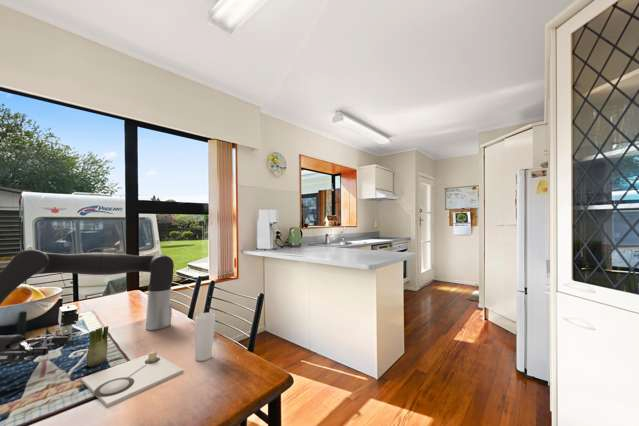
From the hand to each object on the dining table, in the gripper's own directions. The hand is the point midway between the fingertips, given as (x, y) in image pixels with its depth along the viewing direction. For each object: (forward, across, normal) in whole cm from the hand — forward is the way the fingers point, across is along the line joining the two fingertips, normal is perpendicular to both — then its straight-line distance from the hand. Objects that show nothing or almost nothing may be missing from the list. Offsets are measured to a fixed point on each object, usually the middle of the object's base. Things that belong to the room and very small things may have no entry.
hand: (58, 345), depth 85 cm
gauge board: (+27, -10, +7) cm, 29 cm away
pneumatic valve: (-16, +30, +7) cm, 35 cm away
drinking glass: (+45, -1, +7) cm, 46 cm away
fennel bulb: (+11, 0, +7) cm, 14 cm away
